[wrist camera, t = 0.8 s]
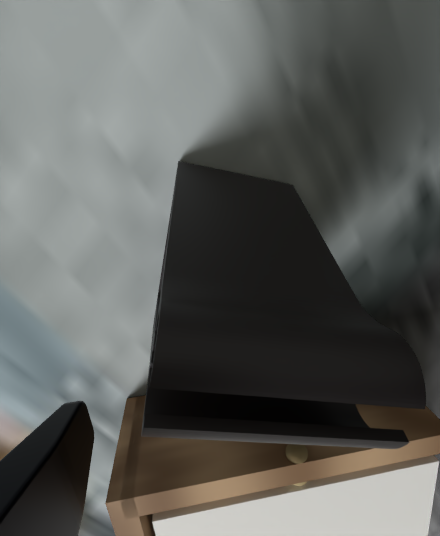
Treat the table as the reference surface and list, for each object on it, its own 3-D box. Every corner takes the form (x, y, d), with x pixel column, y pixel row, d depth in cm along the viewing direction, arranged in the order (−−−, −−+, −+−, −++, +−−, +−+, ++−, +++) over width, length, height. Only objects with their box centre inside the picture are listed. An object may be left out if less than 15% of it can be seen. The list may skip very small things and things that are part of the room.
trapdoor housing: (374, 352, 21) (453, 429, 15) (363, 532, 27) (418, 640, 21) (126, 395, 20) (104, 499, 14) (171, 576, 26) (170, 705, 20)
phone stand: (178, 160, 16) (185, 161, 5) (290, 184, 17) (510, 231, 6) (152, 321, 19) (118, 567, 7) (251, 333, 20) (353, 563, 8)
